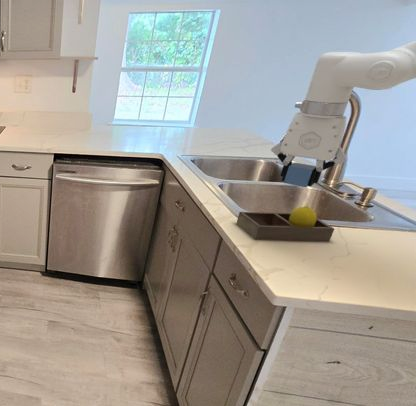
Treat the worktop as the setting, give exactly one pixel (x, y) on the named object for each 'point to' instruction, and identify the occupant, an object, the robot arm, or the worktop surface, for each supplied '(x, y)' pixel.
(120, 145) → the worktop surface
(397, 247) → the worktop surface
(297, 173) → the blue block
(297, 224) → the lemon
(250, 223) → the tray
